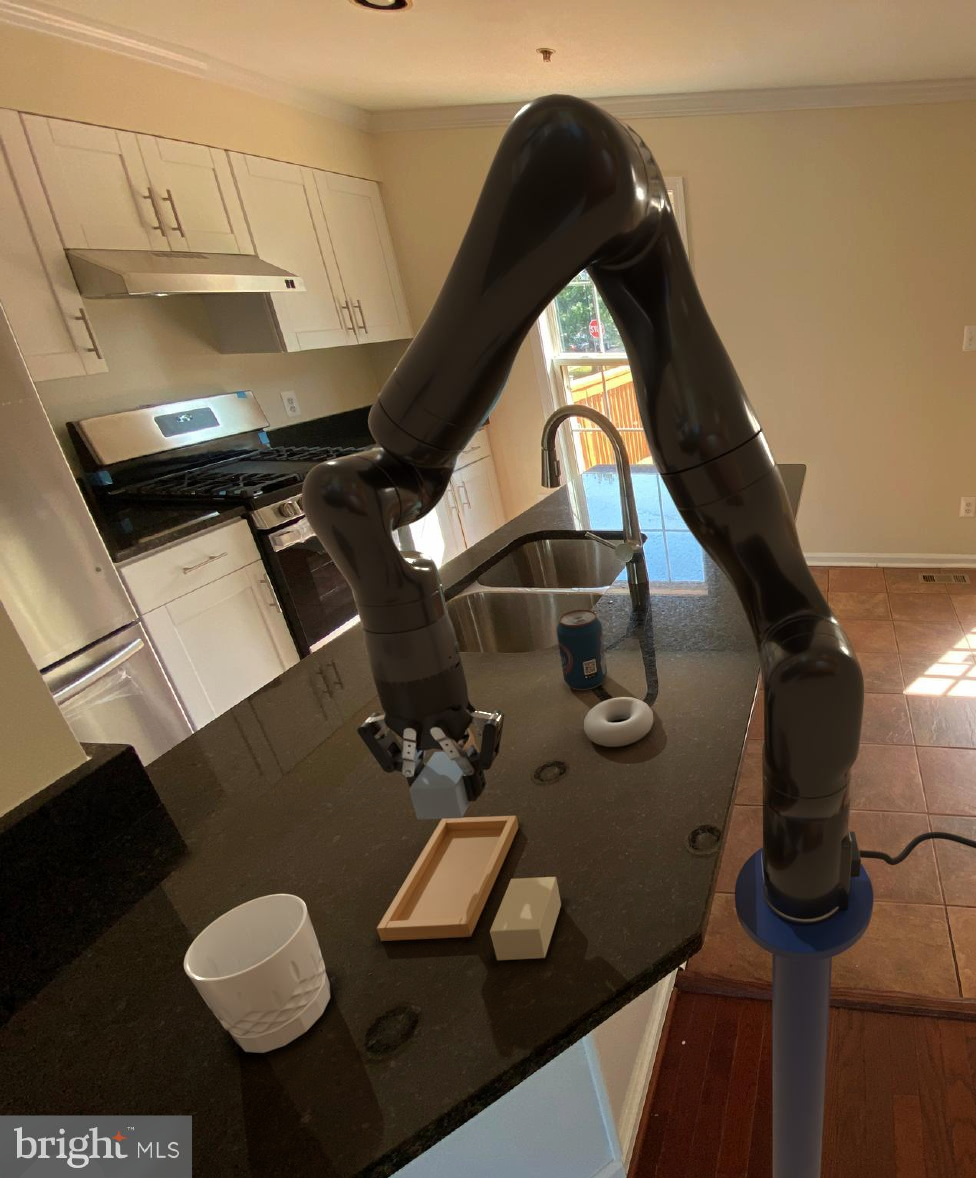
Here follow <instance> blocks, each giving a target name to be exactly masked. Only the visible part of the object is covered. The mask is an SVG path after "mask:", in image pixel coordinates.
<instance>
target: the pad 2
mask: <svg viewBox="0 0 976 1178" xmlns="http://www.w3.org/2000/svg"><path fill="white" fill-rule="evenodd" d="M561 907H562V900H561V895H560V890H559V885H558V880H557V876H545V877H544V876H543V877H523V878H522V877H521V878H511V879H510V881H509V883H508V885H507V889H506V891H505V893H504V896H503V898H502V900H501V903H500V905H499V908H498V910H497V913H496V915H495V918H494V920H493V922H492V925H491V927H490V930H489V934H490V937H491V941H492V945H493V949H494V954H495V958H496V961H510V960H511V961H512V960H513V961H514V960H529V959H530V960H531V959H532V960H533V959H545V958H546V956H547V953H548V950H549V947H550V943H551V939H552V936H553V933H554V930H555V926H556V923H557V919H558V917H559V915H560V909H561Z"/></svg>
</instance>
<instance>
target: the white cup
mask: <svg viewBox="0 0 976 1178" xmlns="http://www.w3.org/2000/svg"><path fill="white" fill-rule="evenodd" d="M183 969H184V972H185V974H186V975H187V977H188V978H189V979H190V981H191V982H192V984H193V986H194V987H195V988H196V990H197V992H198V993H199V995H200V996H201V998H202V999H203V1001H204V1002H205V1004H206V1005H207V1007H208V1008H209V1010H211V1012H212V1013H213V1015H214V1016H215V1017H216V1019H217V1020H218V1021H219V1023H220V1024H221V1026H222V1027H223V1028H224V1030H225V1031H227V1032H229V1034H230V1035H231V1037H232V1038H233V1039H234V1041H235V1043H236V1045H238V1046H239V1047H240V1048H241V1049H242V1050H243V1051H244V1052H245V1053H258V1054H265V1053H267V1052H270V1051H273V1050H276V1049H279V1048H282V1047H285V1046H287V1045H288V1044H290V1043H291V1042H293V1041H295V1040H296V1039H297V1038H299V1037H301V1036H302V1035H304V1034H305V1033H306V1032H308V1031H309V1029H310V1028H312V1026H313V1025H314V1024H315V1023H316V1022H317V1021H318V1020H319V1019H320V1018H321V1017H322V1016H323V1014H324V1012H325V1010H326V1009H327V1008H326V1007H327V1006H328V1003H329V1002H330V1000H331V984H330V981H329V978H328V974H327V972H326V965H325V962H324V957H323V955H322V952H321V948H320V943H319V940H318V938H317V935H316V932H315V929H314V926H313V922H312V920H311V917H310V914H309V911H308V907H307V905H306V902H305V900H303V899H302V898H300V897H299V896H297V895H294V894H289V893H275V894H274V893H273V894H269V895H264V896H261V897H257V898H254V899H252V900H249V901H246V902H243V903H242V904H240V905H238V906H236V907H234V908H232V909H231V910H228V911H227V912H226V913H223V914H222V915H220V916H219V917H217V918H216V919H215V920H214V921H212V922H211V923H210V924H209V925H208V926H206V927H205V928H204V929H202V931H201V932H200V933H199V934H198V935H197V936H196V938H195V939H194V940H193V941H192V943H191V944H190V946H189V947H188V949H187V951H186V953H185V955H184V959H183Z"/></svg>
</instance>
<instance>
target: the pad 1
mask: <svg viewBox="0 0 976 1178" xmlns="http://www.w3.org/2000/svg"><path fill="white" fill-rule="evenodd" d="M426 763H427V764H426V766H425V767H424V768H423V770H422V771H421V773H420V774H419V776H418V777H417V778H416V780H415V781H414V783H413V784H412V786H411V787H409V788H408V791H409V795H410V799H411V802H412V806H413V809H414V813H415V816H416V819H417V820H442V819H449V818H464V815H465V813H466V812H467V810H468V808H469V806H470V804H471V802H469V801H468V798H467V794H466V790H465V786H464V782H463V777H462V775H463V774H464V773H463V772H462V770H461V769H460V767H459V766H458V764H457V763H456V761H451V760H450V759H449V757H448V756H447V754H446V753H445V751H434V752H433V754H432V755H431V757H430V758H429V760H428V761H427V762H426Z"/></svg>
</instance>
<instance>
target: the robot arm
mask: <svg viewBox="0 0 976 1178" xmlns="http://www.w3.org/2000/svg"><path fill="white" fill-rule="evenodd" d="M453 258H454V259H453V261H452V264H451V266H450V268H449V271H448V273H447V274H446V277H445V279H444V281H443V284H442V286H441V288H440V290H439V292H438V294H437V296H436V298H435V300H434V302H433V304H432V306H431V308H430V310H429V312H428V314H427V315H426V318H425V319H424V321H423V323H422V324H421V326H420V328H419V329H418V330H417V333H416V335H415V336H414V338H413V339H412V341H411V342H410V344H409V345H408V348H407V349H406V350H405V352H404V353H403V355H402V357H401V358H400V359H399V361H398V363H397V364H396V366H395V367H394V369H393V370H392V372H391V373H390V375H389V376H388V379H387V380H386V382H385V383H384V384H383V386H382V388H381V390H380V391H379V393H378V394H377V396H376V397H375V399H374V401H373V403H372V405H371V407H370V411H369V413H368V419H367V423H368V429H369V432H370V434H371V436H372V438H373V439H374V441H375V443H376V444H375V445H374V446H373V447H372V448H371V449H367V450H364V451H360V452H355V453H352V454H349V455H345V456H340V457H337V458H332V459H329V460H324V461H323V462H321V463H318V464H316V465H315V466H314V467H312V468H311V469H310V470H309V471H308V473H307V474H306V476H305V478H304V481H303V484H302V489H301V505H302V509H303V513H304V517H305V518H306V521H307V523H308V525H309V526H310V528H311V529H312V532H313V533H314V534H315V536H316V537H317V539H318V541H319V542H320V543H321V545H322V547H323V548H324V549H325V551H326V552H327V553H328V555H329V556H330V558H331V560H332V561H333V563H334V564H335V566H336V568H337V569H338V570H339V572H340V573H341V575H342V576H343V578H344V579H345V580H346V582H347V583H348V585H349V587H350V588H351V593H352V596H353V600H354V603H355V606H356V610H357V613H358V616H359V620H360V623H361V628H362V632H363V642H364V649H365V653H366V658H367V660H368V663H369V664H368V665H369V667H370V670H371V674H372V678H373V681H374V684H375V688H376V692H377V694H378V697H379V698H378V699H379V702H380V705H381V709H382V711H383V712H384V713H385V714H381V713H379V712H372V713H371V714H370V715H369V716H368V717H367V718H366V719H365V721H363V722H362V723H361V724H360V726H359V727H358V728H357V731H356V732H357V734H358V735H359V736H360V738H361V741H363V743H364V744H365V746H366V747H367V749H368V750H369V751H370V753H371V755H372V756H373V757H374V759H375V760H376V762H377V763H378V765H379V766H380V768H381V769H382V771H384V772H385V773H388V774H391V773H394V772H399V773H401V774H402V776H403V777H405V778H406V780H407V784H408V787H409V788H410V787H411V786H412V784H413V783H414V781H415V780H416V778H417V777H418V776H419V774H420V773H421V771H422V770H423V768H424V767H425V766H426V764H427V763H428V762H426V763H425V760H426V754H427V751H429V750H433V749H434V750H440V751H443V752H445V753H446V754H447V756H448V757H449V759H450V760H451V761H456V763H457V764H458V766H459V767H460V769H461V770H462V772H463V773H464V774H463V775H462V777H463V782H464V786H465V790H466V794H467V798H468V801H469V802H470V803H472V802H477V800H478V798H479V797H481V796H482V794H483V792H484V790H485V789H486V785H487V781H486V777H485V773H484V771H489V770H490V769H491V767H492V765H493V763H494V761H495V759H496V757H497V756H498V755H499V753H500V747H501V741H502V733H503V727H504V720H505V713H504V711H502V710H501V709H494V710H493V711H492V713H487V712H483V711H477V709H476V707H475V706H474V705H473V703H472V702H471V701H470V699H469V692H468V691H469V689H468V684H467V680H466V676H465V675H466V674H465V670H464V666H463V662H462V657H461V652H460V650H461V649H460V644H459V642H458V641H457V636H456V635H457V633H456V631H455V628H454V625H453V622H452V619H451V616H450V615H449V612H448V611H449V610H448V608H447V602H446V598H445V594H444V589H443V585H442V581H441V577H440V573H439V570H438V567H437V565H436V563H435V561H434V560H433V559H432V557H431V556H429V555H428V554H427V553H424V552H422V551H418V550H409V549H407V550H406V549H404V550H400V549H399V548H398V546H397V544H396V542H395V540H394V537H393V532H396V531H398V530H400V529H402V528H404V527H407V526H409V525H411V524H414V523H416V522H419V521H420V520H422V519H423V518H424V517H426V516H427V515H428V514H430V513H431V511H433V510H434V508H436V506H437V505H438V504H439V503H440V501H441V500H442V498H443V497H444V496H445V493H446V491H447V489H448V486H449V484H450V482H451V479H452V477H453V474H454V471H455V468H456V466H457V461H458V459H459V458H458V457H459V455H460V454H461V453H462V452H463V451H464V450H465V449H466V447H467V446H468V445H469V444H470V442H471V440H473V438H474V436H475V435H476V434H477V432H478V431H479V430H480V428H481V427H482V426H483V424H484V423H485V422H486V420H487V419H488V417H489V416H490V415H491V414H492V411H493V410H494V409H495V407H496V406H497V404H498V402H499V400H500V398H501V397H502V395H503V394H504V391H505V389H506V386H507V385H508V383H509V380H510V377H511V375H512V372H513V369H514V366H515V364H516V361H517V358H518V356H519V353H520V350H521V349H522V346H523V344H524V342H525V340H526V339H527V337H528V334H529V333H530V331H531V329H532V328H533V326H534V325H535V323H536V322H537V321H538V319H539V318H540V317H541V315H542V314H543V313H544V312H545V310H546V308H547V307H549V305H550V304H551V303H552V302H553V300H555V298H557V296H559V294H560V293H562V291H563V290H564V289H565V288H566V287H568V285H570V284H571V283H572V282H573V281H574V280H575V279H576V278H577V277H578V276H579V275H580V274H581V273H583V271H584V270H585V271H586V274H587V275H588V276H589V278H590V280H591V282H592V283H593V285H594V287H595V289H596V291H597V292H598V295H599V296H600V298H601V301H602V302H603V304H604V306H605V307H606V309H607V311H608V313H609V315H610V317H611V319H612V321H613V324H614V325H615V328H616V330H617V332H618V334H619V337H620V339H621V343H622V346H623V347H624V351H625V354H626V358H627V361H628V365H629V370H630V375H631V379H632V385H633V389H634V395H635V401H636V404H637V405H636V406H637V409H638V414H639V418H640V422H641V426H642V430H643V434H644V437H645V441H646V444H647V448H648V451H649V454H650V456H651V459H652V461H653V463H654V465H655V467H656V470H657V472H658V473H659V476H660V478H661V480H662V483H663V484H664V486H665V488H666V490H667V492H668V494H669V496H670V498H671V501H672V502H673V504H674V506H675V508H676V510H677V511H678V514H679V515H680V517H681V519H682V520H683V522H684V524H685V525H686V527H687V529H688V530H689V532H690V533H691V534H692V536H693V537H694V539H695V540H696V541H697V543H698V544H699V545H700V547H701V548H702V550H704V552H705V553H706V554H707V555H708V557H709V558H710V559H711V560H712V561H713V563H714V564H715V565H716V566H717V567H718V569H719V570H720V571H721V573H723V575H724V576H725V577H726V579H727V580H728V582H729V583H730V585H731V587H732V589H733V590H734V592H735V594H736V596H737V598H738V600H739V602H740V604H741V608H742V610H743V613H744V614H745V617H746V619H747V623H748V626H749V627H750V631H751V633H752V636H753V639H754V643H755V646H756V650H757V654H758V660H759V668H760V674H761V681H762V687H763V744H762V750H761V769H762V771H761V772H762V773H761V774H762V775H761V776H762V847H763V863H762V871H763V883H762V890H763V897H764V900H765V902H766V904H767V906H768V908H769V909H770V910H771V911H772V912H773V913H774V914H775V915H776V916H777V917H779V918H780V919H782V920H784V921H786V922H789V923H792V924H796V925H815V924H819V923H822V922H825V921H827V920H828V919H830V918H832V917H833V916H834V915H835V914H836V913H837V912H839V911H847V910H848V905H849V890H850V877H860V868H861V864H862V859H878V860H883V861H884V862H885V863H886V864H888V865H889V866H896V865H898V864H899V865H900V863H902V862H903V861H905V860H906V859H907V858H908V856H909V855H910V854H911V853H912V852H913V850H914V849H915V848H916V847H917V846H918V845H919V844H921V843H922V842H925V841H927V840H934V839H935V840H936V839H939V840H945V841H946V840H948V841H951V842H955V843H958V844H962V845H964V846H967V847H970V848H973V849H976V841H975V840H972V839H969V838H967V837H964V836H961V835H958V834H954V833H949V832H943V831H931V832H925V833H921V834H920V835H919V834H918V835H917V836H916V837H914V838H913V839H912V840H911V841H910V842H909V843H908V844H907V845H906V846H905V848H903V850H902V851H901V852H900V853H899V854H898V855H897V856H894V857H891V855H890V854H888V853H886V852H882V851H877V850H863V849H859V845H858V840H857V835H856V832H855V831H854V830H853V831H850V818H851V817H850V815H851V802H852V801H851V798H852V784H853V783H852V782H853V772H854V771H853V770H854V769H853V768H854V764H855V763H856V761H857V759H858V756H859V753H860V747H861V739H862V738H861V737H862V731H863V729H862V728H863V720H864V718H863V717H864V709H865V695H866V694H865V692H866V691H865V678H864V673H863V672H864V671H863V668H862V666H861V663H860V662H859V659H858V656H857V654H856V651H855V649H854V647H853V645H852V642H851V640H850V638H849V636H848V634H847V632H846V631H845V628H844V627H843V626H842V624H841V623H840V621H839V620H838V617H837V616H836V615H835V612H833V610H832V608H831V606H830V605H829V602H828V601H827V599H826V597H825V596H824V593H823V592H822V590H821V588H820V586H819V584H818V583H817V581H816V579H815V577H814V575H813V574H812V571H811V568H810V567H809V565H808V563H807V560H806V558H805V556H804V553H803V549H802V547H801V542H800V538H799V534H798V529H797V525H796V521H795V516H794V513H793V509H792V506H791V501H790V498H789V496H788V492H787V489H786V485H785V483H784V480H783V477H782V474H781V471H780V468H779V465H778V463H777V461H776V458H775V456H774V453H773V451H772V448H771V446H770V444H769V441H768V438H767V437H766V433H765V431H764V429H763V427H762V424H761V422H760V420H759V418H758V416H757V414H756V411H755V408H754V407H753V404H752V403H751V401H750V398H749V396H748V394H747V391H746V390H745V387H744V385H743V383H742V381H741V378H740V376H739V374H738V372H737V369H736V368H735V366H734V363H733V361H732V359H731V357H730V355H729V353H728V351H727V348H726V347H725V345H724V342H723V341H722V338H721V337H720V335H719V332H718V331H717V329H716V327H715V324H714V323H713V321H712V319H711V317H710V315H709V312H708V311H707V308H706V306H705V303H704V301H703V298H702V295H701V293H700V290H699V287H698V284H697V281H696V279H695V275H694V273H693V270H692V267H691V264H690V260H689V257H688V254H687V250H686V248H685V245H684V241H683V239H682V235H681V232H680V230H679V226H678V221H677V219H676V216H675V213H674V209H673V206H672V202H671V199H670V196H669V191H668V189H667V187H666V183H665V180H664V177H663V173H662V170H661V169H660V166H659V164H658V162H657V160H656V158H655V155H654V153H653V151H652V150H651V149H650V147H649V146H648V144H647V142H645V140H644V139H643V138H642V136H641V135H640V134H639V133H637V132H636V130H634V128H633V127H632V126H630V125H629V124H627V123H626V122H625V121H623V120H621V119H620V118H619V117H616V116H615V115H613V114H611V113H609V112H608V111H607V110H605V109H603V108H602V107H600V106H598V105H596V104H595V103H593V102H591V101H589V100H586V99H584V98H580V97H578V96H575V95H572V94H561V93H551V94H546V95H542V96H538V97H537V98H535V99H533V100H531V101H529V102H527V103H525V105H524V106H522V108H520V109H519V111H517V112H516V114H515V115H514V116H513V117H512V118H511V121H510V122H509V124H508V126H507V127H506V129H505V131H504V133H503V135H502V137H501V139H500V142H499V143H498V146H497V148H496V151H495V153H494V155H493V158H492V160H491V163H490V166H489V169H488V171H487V173H486V176H485V179H484V181H483V185H482V188H481V190H480V193H479V197H478V199H477V201H476V204H475V207H474V210H473V213H472V215H471V218H470V220H469V223H468V226H467V228H466V230H465V232H464V235H463V238H462V240H461V242H460V244H459V246H458V249H457V251H456V254H455V256H454V257H453ZM472 724H473V725H474V726H476V730H477V732H478V733H477V735H478V737H481V738H482V739H481V744H480V748H479V747H478V745H477V743H476V738H475V737H476V736H475V735H474V733H473V732H472V730H471V729H470V726H471V725H472ZM395 734H396V735H397V736H398V737H399V738H401V739H402V740H403V742H402V744H401V743H400V740H398V738H397V736H396V735H395ZM761 861H762V853H761Z"/></svg>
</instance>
